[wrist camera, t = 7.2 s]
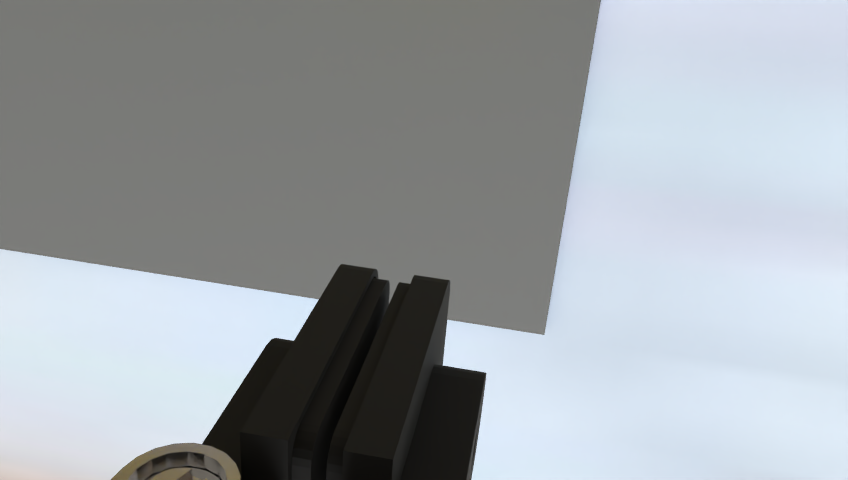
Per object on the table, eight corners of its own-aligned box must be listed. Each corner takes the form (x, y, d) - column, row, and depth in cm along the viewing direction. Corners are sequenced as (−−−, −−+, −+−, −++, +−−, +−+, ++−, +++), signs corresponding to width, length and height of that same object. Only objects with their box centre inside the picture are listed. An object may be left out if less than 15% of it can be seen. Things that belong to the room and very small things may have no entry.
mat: (635, -213, 22) (636, -215, 21) (544, 327, 30) (544, 334, 29) (-126, -265, 25) (-139, -267, 24) (-24, 238, 33) (-32, 243, 32)
